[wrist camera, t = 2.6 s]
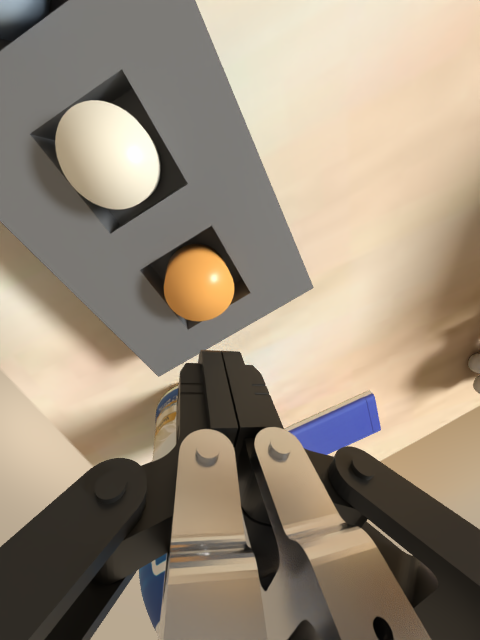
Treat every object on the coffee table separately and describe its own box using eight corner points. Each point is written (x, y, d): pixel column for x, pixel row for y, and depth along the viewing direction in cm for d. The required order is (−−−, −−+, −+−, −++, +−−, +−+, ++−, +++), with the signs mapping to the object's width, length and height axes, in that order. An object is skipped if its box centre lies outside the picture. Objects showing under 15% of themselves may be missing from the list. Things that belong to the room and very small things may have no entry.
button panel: (-216, -60, 11) (-393, -164, 8) (47, -287, 10) (-24, -529, 7) (161, 348, 24) (158, 376, 21) (294, 271, 23) (313, 287, 20)
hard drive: (301, 468, 37) (381, 431, 37) (284, 437, 33) (375, 395, 32) (297, 458, 38) (374, 422, 38) (280, 426, 34) (367, 386, 34)
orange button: (153, 264, 18) (148, 280, 16) (206, 231, 18) (211, 242, 15) (189, 311, 21) (190, 332, 18) (237, 282, 20) (245, 299, 17)
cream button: (60, 143, 14) (31, 135, 11) (127, 97, 14) (113, 77, 11) (117, 217, 16) (104, 225, 14) (176, 179, 16) (174, 180, 13)
